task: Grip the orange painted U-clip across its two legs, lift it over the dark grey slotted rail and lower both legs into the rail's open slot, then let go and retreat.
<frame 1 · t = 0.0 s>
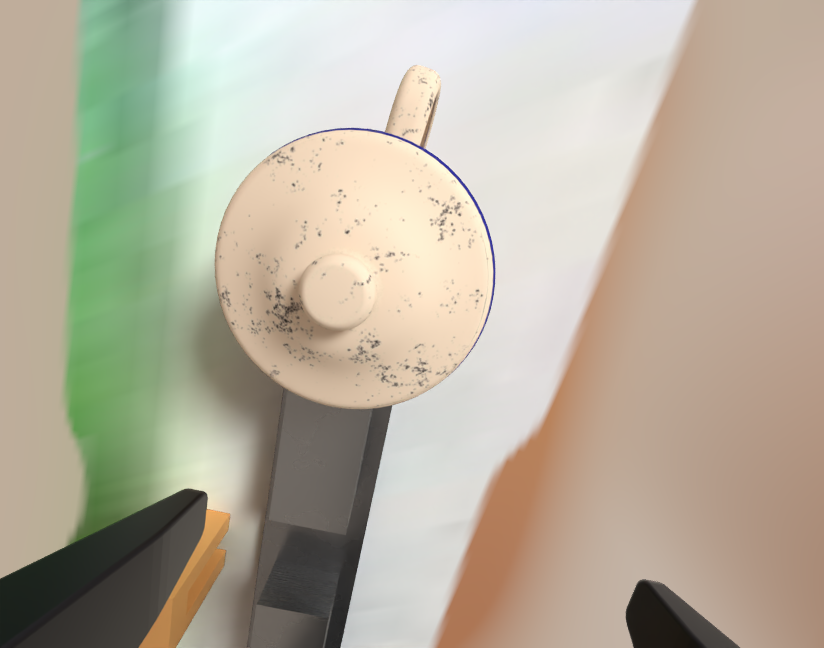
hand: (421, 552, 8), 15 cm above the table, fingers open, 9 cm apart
clip: (203, 535, 26), on the table
rail: (318, 517, 25), on the table
teacup with lid: (390, 231, 21), on the table
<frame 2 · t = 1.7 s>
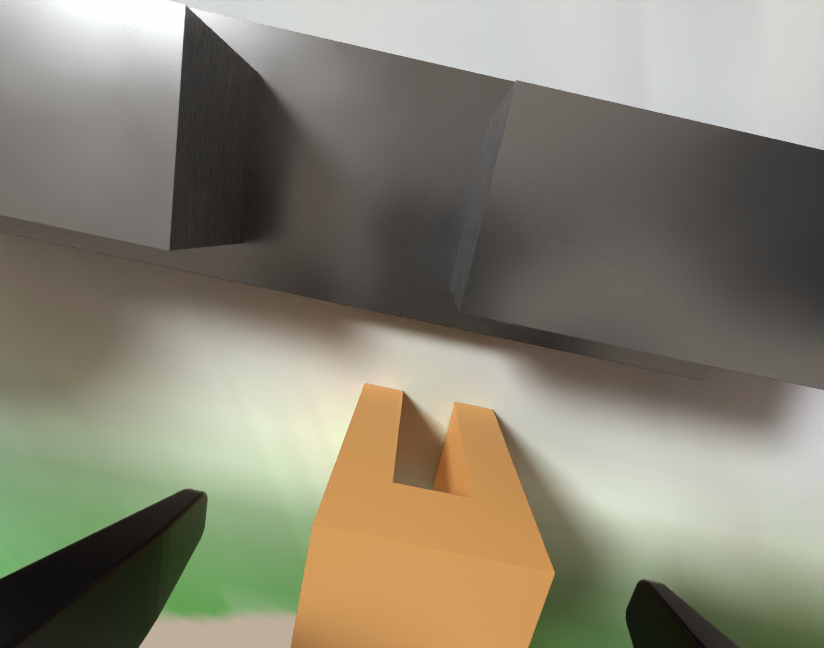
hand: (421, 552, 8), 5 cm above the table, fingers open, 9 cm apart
clip: (418, 440, 13), on the table
rail: (364, 189, 11), on the table
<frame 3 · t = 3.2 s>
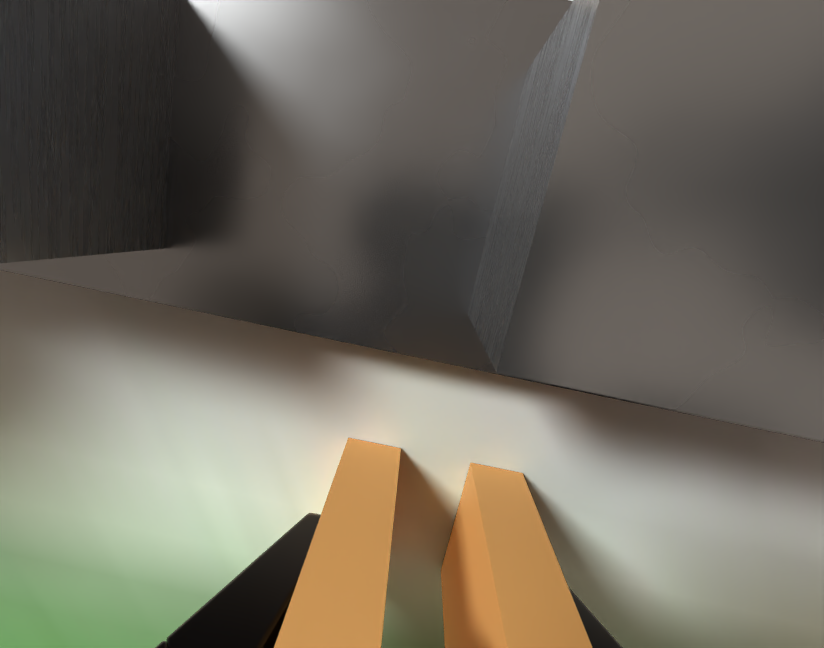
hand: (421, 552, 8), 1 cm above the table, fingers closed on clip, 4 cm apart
clip: (421, 511, 9), on the table, touching gripper
rail: (345, 171, 8), on the table
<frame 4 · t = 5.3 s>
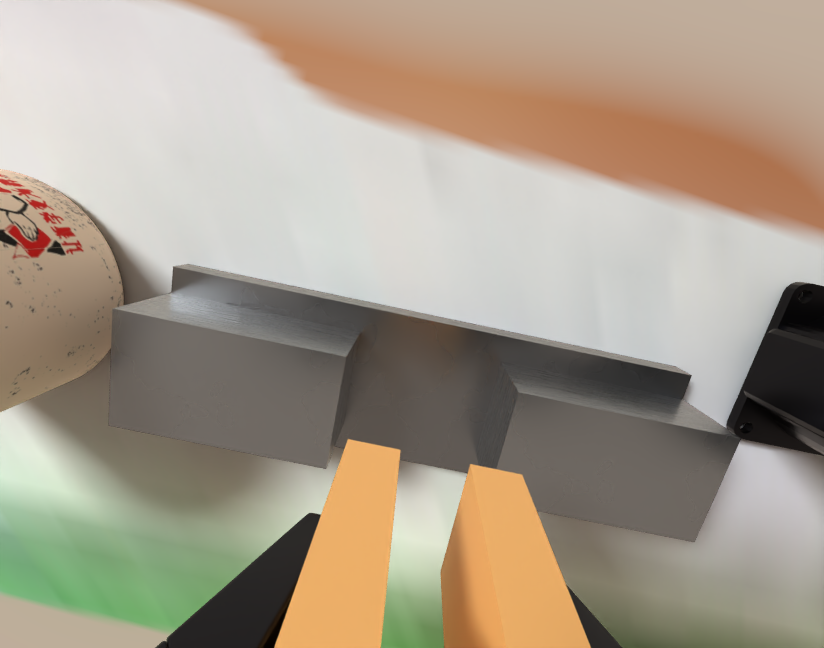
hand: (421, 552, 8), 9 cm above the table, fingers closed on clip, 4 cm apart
clip: (421, 513, 9), point 8 cm above the table, touching gripper
rail: (420, 384, 17), on the table
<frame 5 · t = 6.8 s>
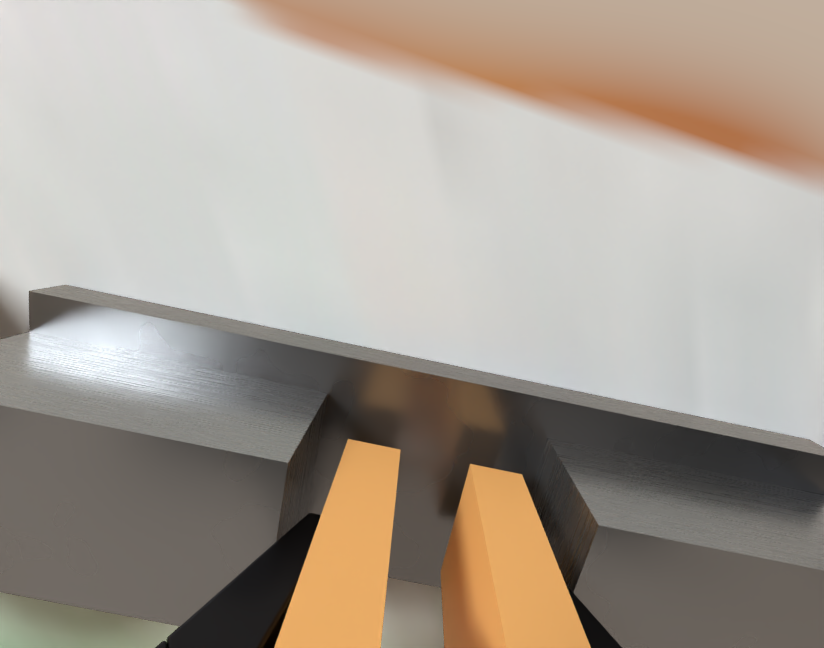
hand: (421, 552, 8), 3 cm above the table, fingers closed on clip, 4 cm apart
clip: (421, 512, 9), point 2 cm above the table, touching gripper
rail: (421, 463, 11), on the table
when the fingers open (4 cm above the table, at t = 8.3 s): clip stays where it is, resting on rail.
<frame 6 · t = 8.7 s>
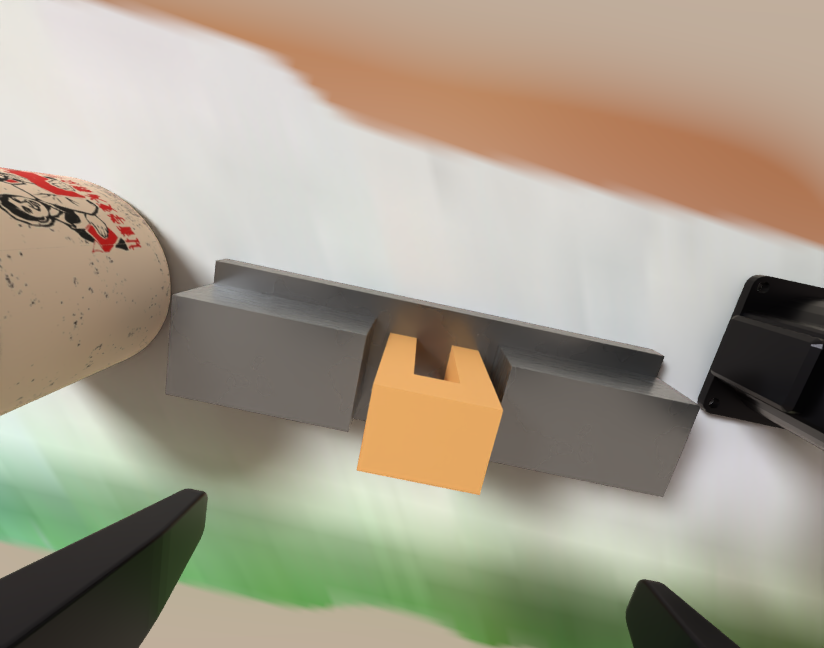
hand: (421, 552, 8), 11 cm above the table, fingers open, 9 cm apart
clip: (427, 372, 18), point 1 cm above the table, touching rail
rail: (427, 364, 19), on the table
teacup with lid: (57, 264, 19), on the table
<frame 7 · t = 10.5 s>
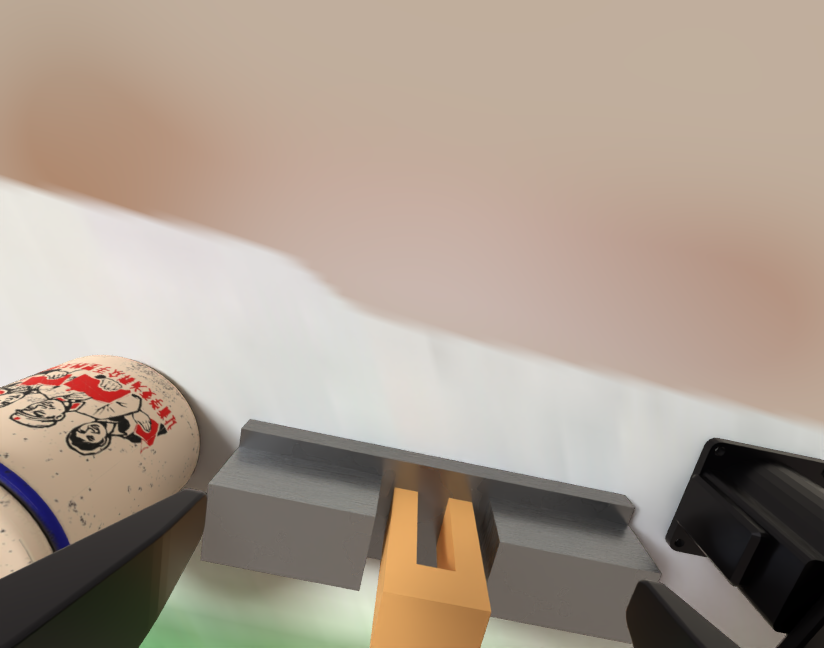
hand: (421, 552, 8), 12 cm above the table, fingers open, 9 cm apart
clip: (427, 519, 21), point 1 cm above the table, touching rail
rail: (427, 506, 22), on the table
teacup with lid: (97, 420, 21), on the table
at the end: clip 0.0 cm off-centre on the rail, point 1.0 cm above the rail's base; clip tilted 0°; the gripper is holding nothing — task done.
